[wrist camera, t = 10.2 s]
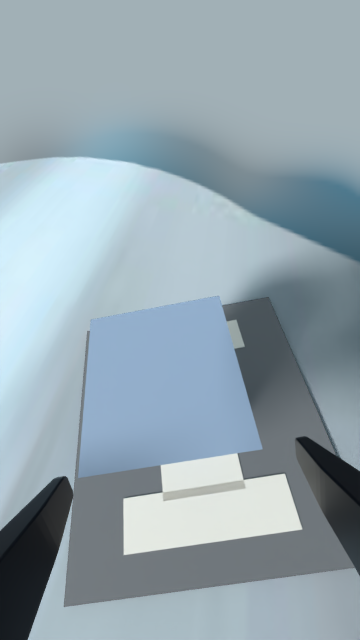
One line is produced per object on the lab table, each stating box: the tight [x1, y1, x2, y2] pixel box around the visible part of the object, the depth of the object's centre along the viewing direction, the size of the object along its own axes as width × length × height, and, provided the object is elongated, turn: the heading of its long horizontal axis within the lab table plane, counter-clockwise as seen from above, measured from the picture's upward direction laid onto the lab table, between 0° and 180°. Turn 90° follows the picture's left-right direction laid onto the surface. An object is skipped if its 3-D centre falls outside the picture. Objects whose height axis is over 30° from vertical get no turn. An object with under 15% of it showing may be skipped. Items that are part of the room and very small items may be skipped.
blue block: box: [78, 296, 263, 478], centre depth 13 cm, size 5×5×13 cm
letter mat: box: [64, 297, 355, 607], centre depth 18 cm, size 20×20×1 cm
